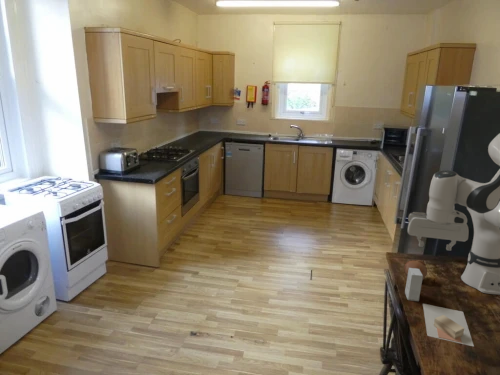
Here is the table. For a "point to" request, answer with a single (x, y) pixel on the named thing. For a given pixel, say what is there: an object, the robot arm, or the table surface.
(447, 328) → the beige angular block
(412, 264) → the onion
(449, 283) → the table surface
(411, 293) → the skincare box
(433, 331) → the mat
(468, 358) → the table surface
